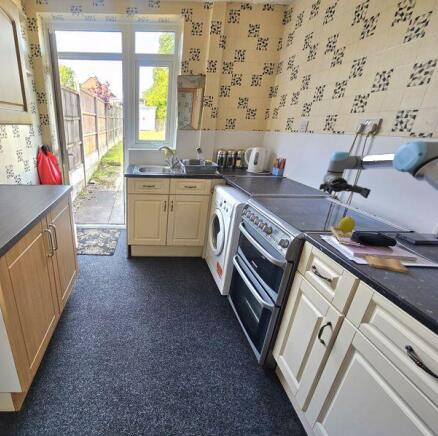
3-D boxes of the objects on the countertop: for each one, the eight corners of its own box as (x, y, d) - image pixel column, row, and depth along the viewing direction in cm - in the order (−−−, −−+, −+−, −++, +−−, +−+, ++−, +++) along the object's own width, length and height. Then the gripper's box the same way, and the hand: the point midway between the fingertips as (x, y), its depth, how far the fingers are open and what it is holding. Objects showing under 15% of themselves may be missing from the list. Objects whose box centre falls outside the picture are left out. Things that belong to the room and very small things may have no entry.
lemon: (333, 231, 112) (338, 215, 109) (342, 230, 114) (347, 214, 111) (345, 236, 107) (351, 219, 104) (354, 235, 109) (360, 218, 106)
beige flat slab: (352, 232, 113) (353, 229, 112) (365, 247, 98) (366, 244, 98) (329, 228, 116) (330, 226, 115) (339, 243, 102) (340, 240, 101)
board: (396, 261, 88) (397, 259, 88) (407, 273, 82) (409, 270, 81) (362, 255, 92) (363, 253, 92) (370, 266, 85) (371, 263, 85)
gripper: (363, 193, 128) (379, 205, 110) (308, 187, 137) (315, 197, 119) (368, 179, 125) (386, 188, 107) (311, 174, 134) (319, 182, 116)
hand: (348, 193), depth 113 cm, fingers open, 13 cm apart
